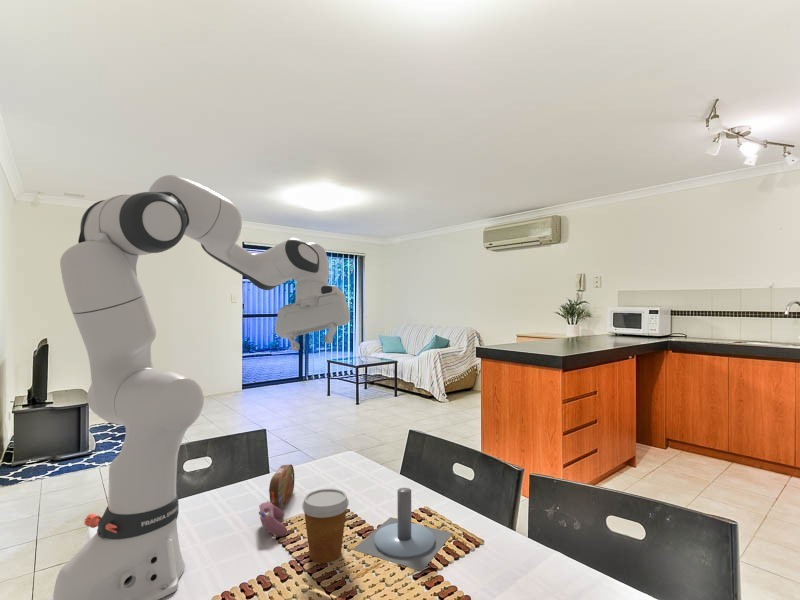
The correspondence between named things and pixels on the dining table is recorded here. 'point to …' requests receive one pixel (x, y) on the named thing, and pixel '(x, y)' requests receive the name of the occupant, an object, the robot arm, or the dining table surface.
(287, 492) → the tin
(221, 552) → the dining table surface
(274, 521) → the video game controller
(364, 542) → the mat
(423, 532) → the lid
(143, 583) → the robot arm
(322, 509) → the disposable coffee cup
